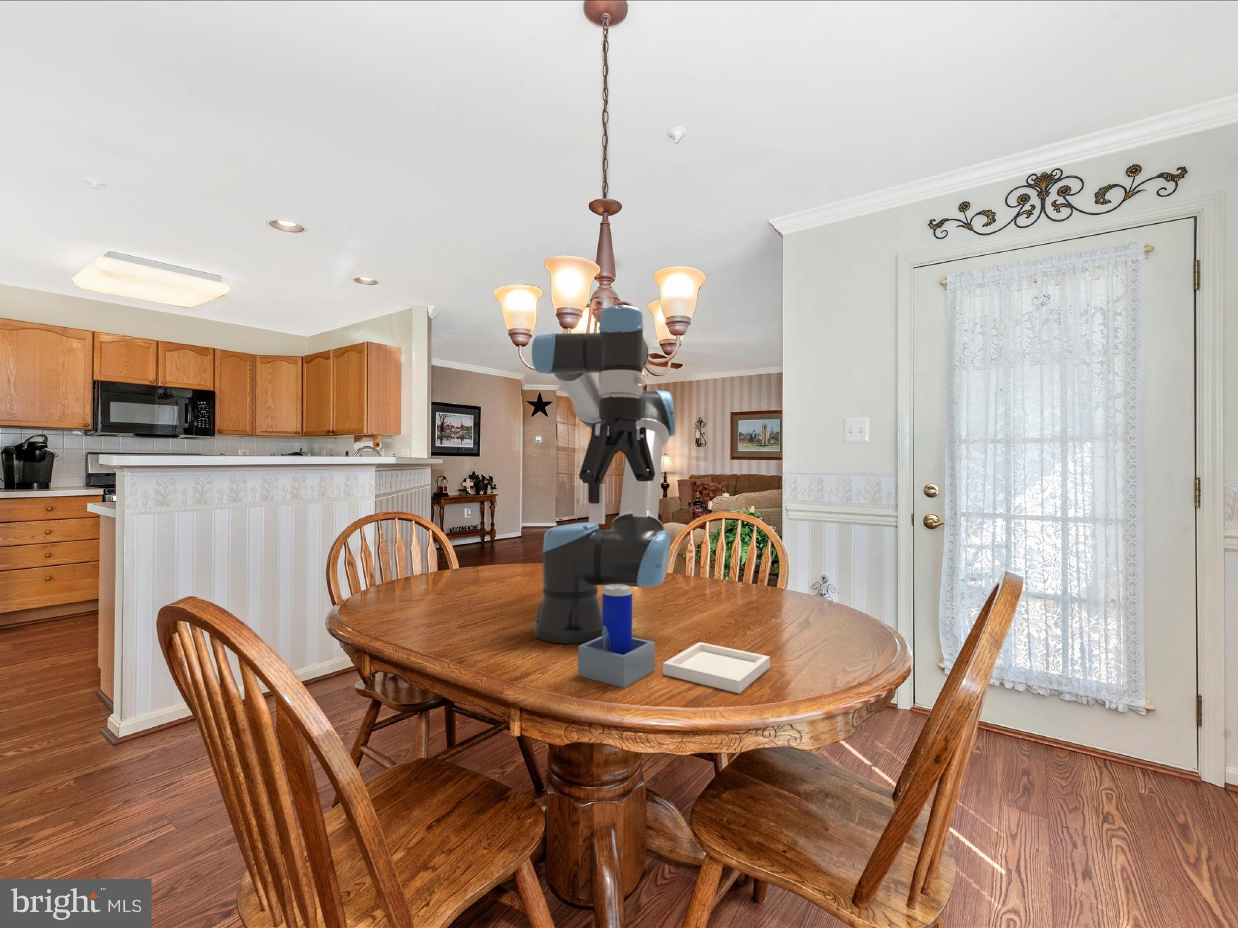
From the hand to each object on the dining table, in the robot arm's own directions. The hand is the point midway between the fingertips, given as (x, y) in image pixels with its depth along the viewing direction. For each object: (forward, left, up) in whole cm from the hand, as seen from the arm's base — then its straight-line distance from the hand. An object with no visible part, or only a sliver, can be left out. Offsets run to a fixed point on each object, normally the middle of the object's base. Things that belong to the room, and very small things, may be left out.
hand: (619, 520), depth 100 cm
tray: (+14, +11, -27) cm, 32 cm away
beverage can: (0, 0, -27) cm, 27 cm away
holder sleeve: (0, 0, -27) cm, 27 cm away
